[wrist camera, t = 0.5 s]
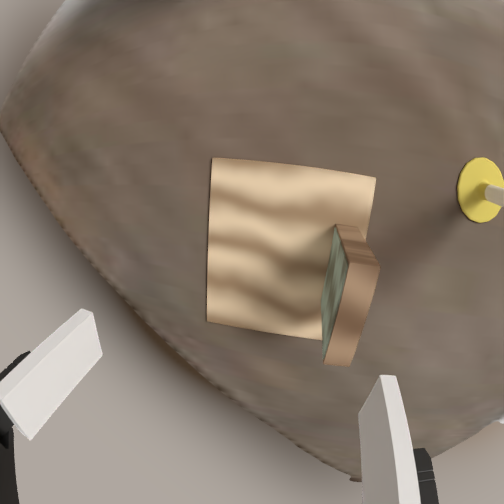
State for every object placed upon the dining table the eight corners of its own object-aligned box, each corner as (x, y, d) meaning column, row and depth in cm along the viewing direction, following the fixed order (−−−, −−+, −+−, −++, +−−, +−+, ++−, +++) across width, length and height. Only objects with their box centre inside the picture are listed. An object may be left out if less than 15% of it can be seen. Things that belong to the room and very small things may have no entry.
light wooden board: (213, 157, 38) (212, 157, 38) (375, 177, 35) (376, 177, 35) (207, 319, 47) (206, 321, 47) (339, 340, 44) (339, 342, 44)
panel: (334, 223, 38) (348, 262, 25) (357, 227, 37) (380, 266, 24) (320, 301, 42) (321, 364, 29) (340, 304, 42) (349, 366, 29)
